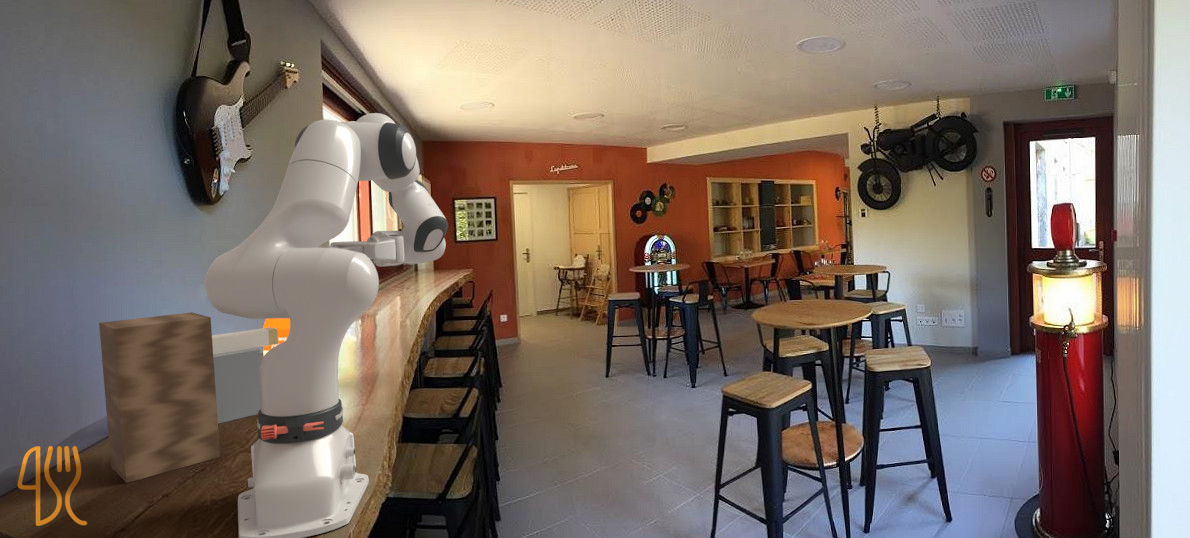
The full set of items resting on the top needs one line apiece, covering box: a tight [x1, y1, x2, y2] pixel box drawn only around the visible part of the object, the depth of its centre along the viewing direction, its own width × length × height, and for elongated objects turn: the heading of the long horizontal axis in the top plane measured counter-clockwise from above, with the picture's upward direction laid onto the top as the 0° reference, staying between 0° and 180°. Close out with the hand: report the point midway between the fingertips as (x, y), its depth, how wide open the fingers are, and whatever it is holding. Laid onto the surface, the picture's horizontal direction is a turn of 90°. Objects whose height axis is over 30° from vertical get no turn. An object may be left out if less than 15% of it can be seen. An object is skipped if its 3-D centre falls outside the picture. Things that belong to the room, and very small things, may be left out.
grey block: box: [213, 347, 262, 425], centre depth 135 cm, size 10×10×14 cm
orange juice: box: [262, 319, 290, 356], centre depth 166 cm, size 8×9×20 cm
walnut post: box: [98, 312, 221, 484], centre depth 108 cm, size 14×10×26 cm
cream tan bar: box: [212, 327, 278, 354], centre depth 135 cm, size 20×4×4 cm, turn 140°
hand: (330, 251), depth 140 cm, fingers open, 8 cm apart
